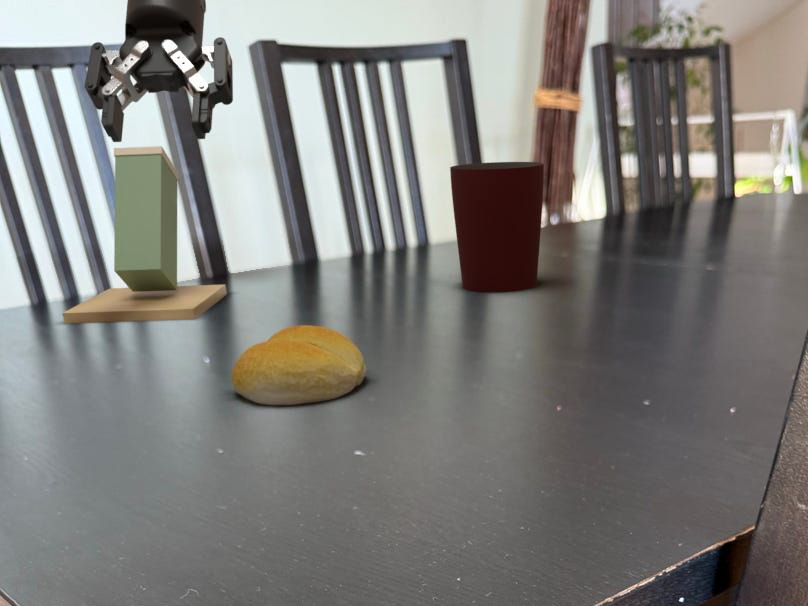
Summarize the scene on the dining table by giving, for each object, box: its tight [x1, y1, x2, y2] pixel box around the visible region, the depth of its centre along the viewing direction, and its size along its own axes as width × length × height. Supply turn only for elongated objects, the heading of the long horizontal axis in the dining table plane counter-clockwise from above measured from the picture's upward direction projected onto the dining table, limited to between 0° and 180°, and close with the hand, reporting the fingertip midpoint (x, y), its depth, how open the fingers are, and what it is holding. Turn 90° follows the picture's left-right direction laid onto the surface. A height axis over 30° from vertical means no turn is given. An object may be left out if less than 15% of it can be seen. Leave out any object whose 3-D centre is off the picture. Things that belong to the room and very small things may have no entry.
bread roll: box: [231, 324, 367, 406], centre depth 63 cm, size 8×9×4 cm
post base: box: [62, 284, 228, 325], centre depth 90 cm, size 12×12×1 cm
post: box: [113, 145, 180, 292], centre depth 90 cm, size 5×5×12 cm
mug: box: [449, 161, 545, 294], centre depth 93 cm, size 12×9×11 cm
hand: (156, 134), depth 93 cm, fingers open, 8 cm apart
